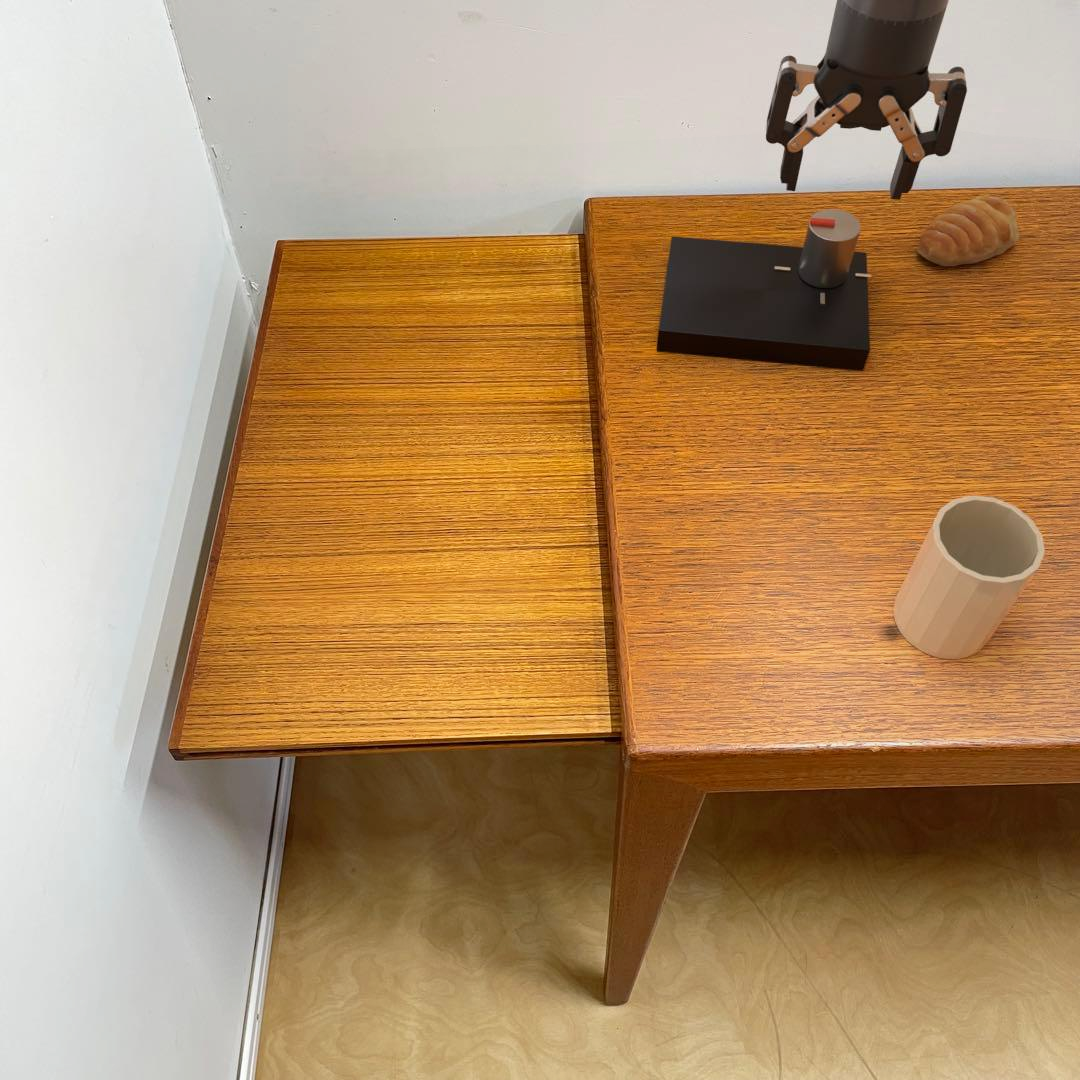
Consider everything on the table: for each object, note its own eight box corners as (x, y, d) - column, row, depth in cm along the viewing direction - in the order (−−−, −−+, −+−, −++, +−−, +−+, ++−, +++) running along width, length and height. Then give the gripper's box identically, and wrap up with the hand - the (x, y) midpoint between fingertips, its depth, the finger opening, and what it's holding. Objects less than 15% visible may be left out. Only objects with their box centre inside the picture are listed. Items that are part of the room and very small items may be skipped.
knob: (847, 259, 91) (861, 207, 86) (847, 290, 88) (862, 239, 84) (798, 254, 91) (810, 203, 87) (797, 286, 89) (809, 235, 84)
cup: (985, 584, 73) (1037, 501, 65) (994, 665, 69) (1050, 588, 61) (891, 573, 74) (930, 490, 66) (894, 652, 70) (937, 574, 62)
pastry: (948, 284, 92) (961, 250, 89) (897, 245, 96) (907, 212, 93) (1020, 248, 95) (1034, 214, 92) (967, 212, 98) (980, 178, 95)
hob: (863, 268, 94) (870, 245, 92) (866, 371, 86) (874, 348, 84) (670, 252, 96) (672, 229, 94) (656, 351, 88) (658, 328, 86)
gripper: (790, 10, 68) (754, 210, 81) (1005, 23, 67) (933, 224, 80) (792, -41, 73) (758, 156, 86) (994, -31, 71) (927, 169, 84)
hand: (842, 189), depth 83 cm, fingers open, 8 cm apart
